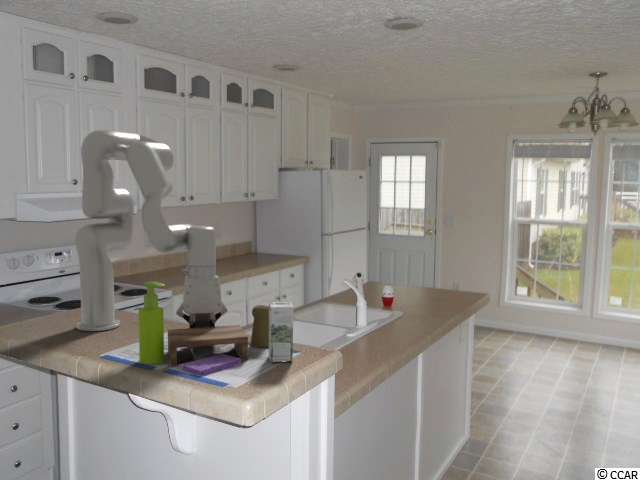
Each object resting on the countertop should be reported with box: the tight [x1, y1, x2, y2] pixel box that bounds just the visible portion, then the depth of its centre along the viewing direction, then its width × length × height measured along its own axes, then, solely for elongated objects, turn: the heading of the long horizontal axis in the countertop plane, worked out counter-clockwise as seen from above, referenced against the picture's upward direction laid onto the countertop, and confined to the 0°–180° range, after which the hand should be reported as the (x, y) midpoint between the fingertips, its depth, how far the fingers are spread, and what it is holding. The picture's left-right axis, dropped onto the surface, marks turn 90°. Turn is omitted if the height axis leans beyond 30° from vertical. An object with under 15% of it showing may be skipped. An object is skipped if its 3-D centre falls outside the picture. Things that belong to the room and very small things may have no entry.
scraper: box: [189, 314, 223, 361], centre depth 151 cm, size 16×7×9 cm, turn 18°
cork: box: [250, 304, 269, 348], centre depth 156 cm, size 6×6×11 cm
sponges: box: [181, 352, 242, 377], centre depth 138 cm, size 7×13×2 cm, turn 140°
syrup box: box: [268, 301, 294, 364], centre depth 144 cm, size 6×6×14 cm
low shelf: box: [167, 324, 249, 367], centre depth 146 cm, size 12×19×6 cm, turn 108°
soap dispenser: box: [138, 281, 166, 365], centre depth 141 cm, size 6×7×20 cm
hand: (202, 336), depth 157 cm, fingers closed on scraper, 4 cm apart
